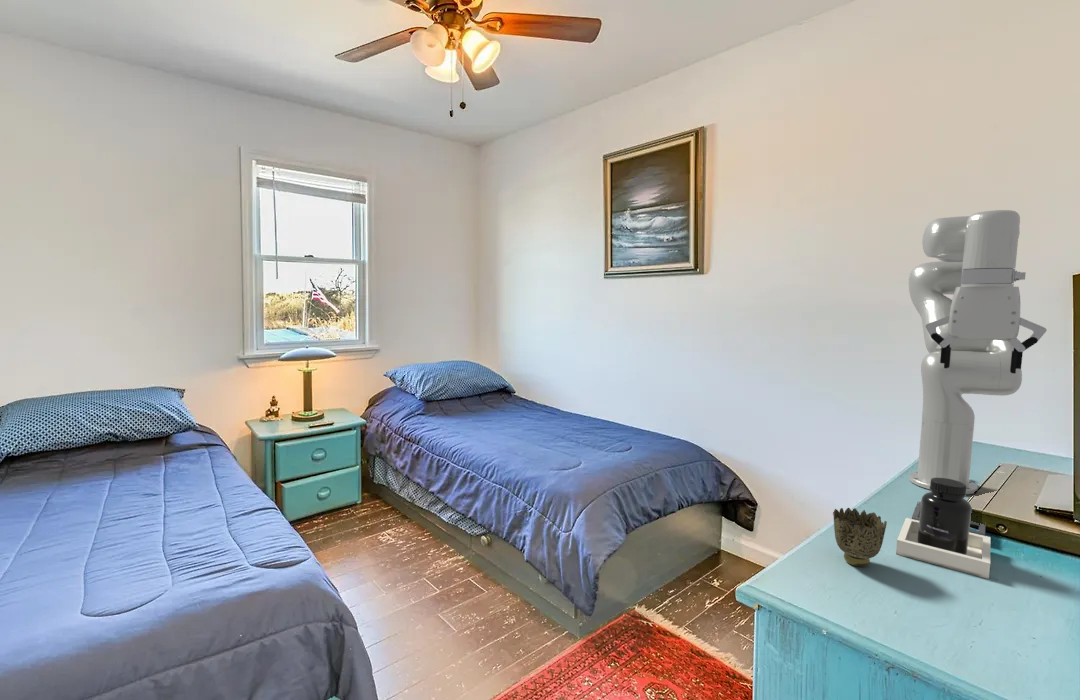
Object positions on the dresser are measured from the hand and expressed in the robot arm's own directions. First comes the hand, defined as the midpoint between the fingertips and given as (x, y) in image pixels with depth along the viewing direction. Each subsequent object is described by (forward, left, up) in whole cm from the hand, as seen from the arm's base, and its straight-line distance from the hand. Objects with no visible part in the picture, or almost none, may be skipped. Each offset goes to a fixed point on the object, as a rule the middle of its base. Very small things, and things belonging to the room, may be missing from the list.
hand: (978, 369), depth 99 cm
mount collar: (+5, -2, -30) cm, 31 cm away
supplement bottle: (+19, -3, -30) cm, 35 cm away
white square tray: (+19, -2, -30) cm, 35 cm away
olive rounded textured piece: (+33, -13, -30) cm, 46 cm away
